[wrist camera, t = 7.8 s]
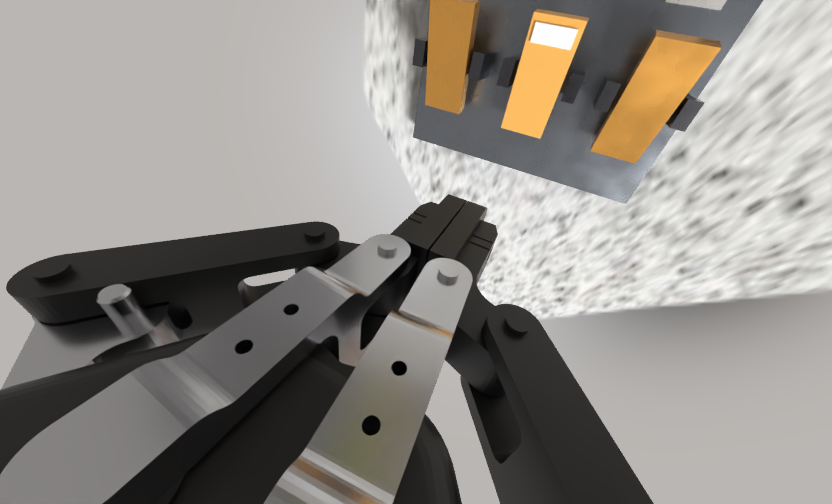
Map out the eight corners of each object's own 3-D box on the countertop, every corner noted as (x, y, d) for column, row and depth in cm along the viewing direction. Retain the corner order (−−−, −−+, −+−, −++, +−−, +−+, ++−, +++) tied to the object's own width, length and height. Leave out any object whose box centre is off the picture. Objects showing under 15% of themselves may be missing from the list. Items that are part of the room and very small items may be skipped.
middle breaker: (589, 17, 17) (587, 21, 17) (542, 133, 23) (539, 140, 22) (537, 8, 18) (533, 12, 17) (504, 122, 23) (500, 129, 23)
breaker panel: (766, -29, 17) (837, -57, 12) (623, 192, 26) (631, 226, 21) (455, -66, 22) (418, -97, 17) (423, 131, 30) (392, 148, 26)
